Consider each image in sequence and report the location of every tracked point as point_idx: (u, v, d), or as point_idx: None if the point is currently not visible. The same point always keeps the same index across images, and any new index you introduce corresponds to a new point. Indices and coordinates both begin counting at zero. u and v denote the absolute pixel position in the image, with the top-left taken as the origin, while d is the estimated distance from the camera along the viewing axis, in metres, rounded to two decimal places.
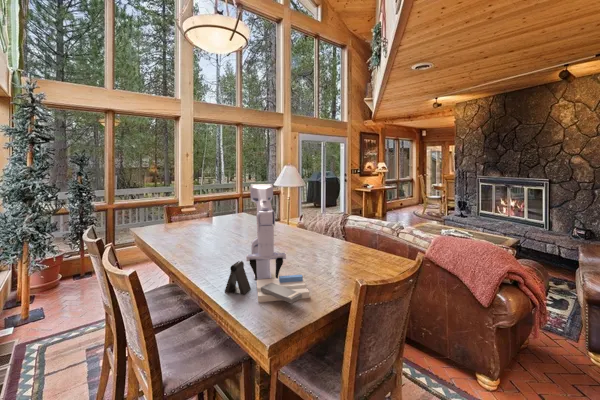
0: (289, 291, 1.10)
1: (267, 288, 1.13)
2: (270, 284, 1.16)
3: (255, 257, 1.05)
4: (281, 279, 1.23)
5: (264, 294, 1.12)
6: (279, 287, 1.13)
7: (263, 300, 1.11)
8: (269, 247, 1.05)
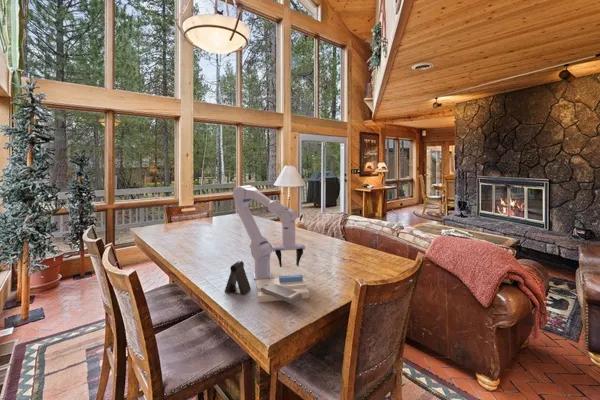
0: (289, 291, 1.10)
1: (267, 288, 1.13)
2: (270, 284, 1.16)
3: (280, 248, 1.26)
4: (281, 279, 1.23)
5: (264, 294, 1.12)
6: (279, 287, 1.13)
7: (263, 300, 1.11)
8: (292, 239, 1.26)
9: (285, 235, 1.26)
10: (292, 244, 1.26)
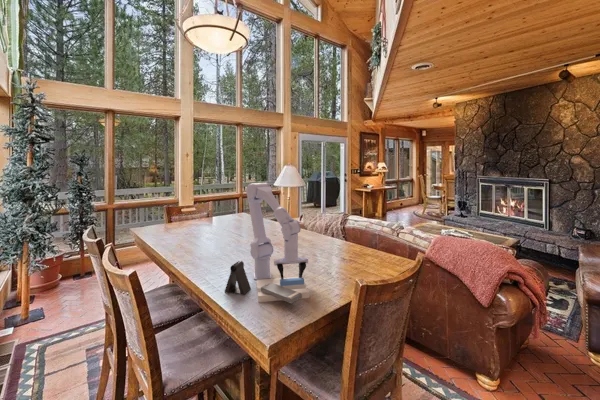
0: (289, 291, 1.10)
1: (267, 288, 1.13)
2: (270, 284, 1.16)
3: (282, 262, 1.21)
4: (282, 282, 1.20)
5: (264, 294, 1.12)
6: (279, 287, 1.13)
7: (263, 300, 1.11)
8: (294, 253, 1.20)
9: (286, 248, 1.20)
10: (295, 258, 1.20)
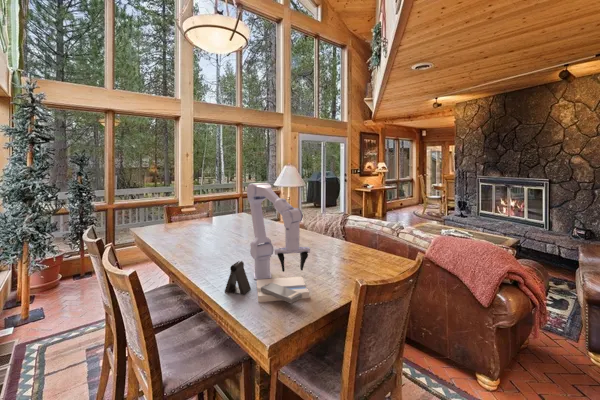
0: (289, 291, 1.10)
1: (267, 288, 1.13)
2: (270, 284, 1.16)
3: (283, 251, 1.16)
4: None
5: (264, 294, 1.12)
6: (279, 287, 1.13)
7: (263, 300, 1.11)
8: (296, 242, 1.16)
9: (286, 236, 1.16)
10: (296, 247, 1.16)
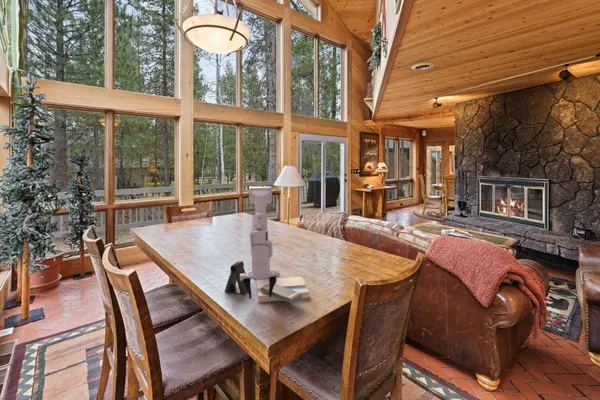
0: (289, 291, 1.10)
1: (267, 288, 1.13)
2: None
3: (249, 276, 1.05)
4: None
5: (264, 294, 1.12)
6: (279, 287, 1.13)
7: (263, 300, 1.11)
8: (263, 266, 1.04)
9: None
10: (263, 272, 1.05)
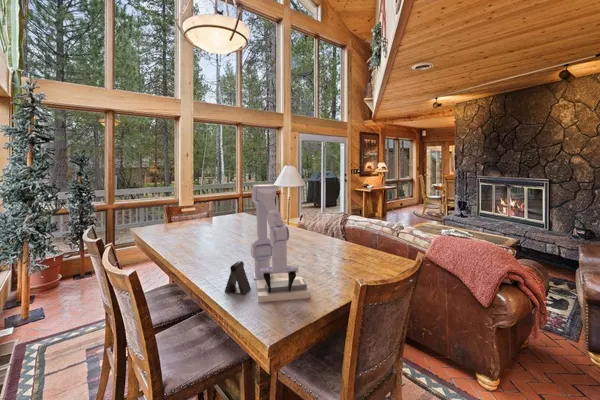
0: (293, 281, 1.20)
1: (273, 286, 1.15)
2: None
3: (269, 271, 1.10)
4: None
5: (264, 294, 1.12)
6: (280, 282, 1.18)
7: (263, 300, 1.11)
8: (283, 261, 1.09)
9: (272, 255, 1.10)
10: (283, 266, 1.10)
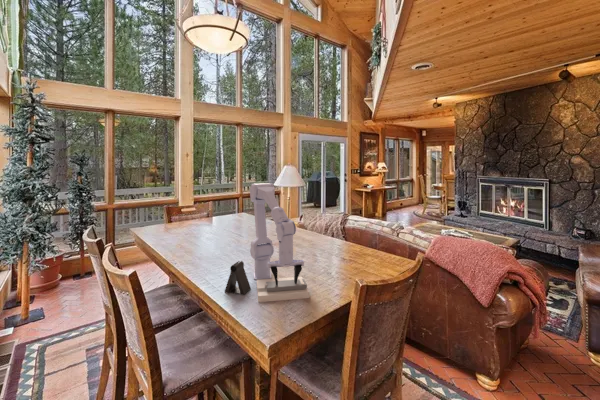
0: (293, 281, 1.20)
1: (273, 286, 1.15)
2: (268, 283, 1.17)
3: (276, 264, 1.14)
4: None
5: (264, 294, 1.12)
6: (280, 282, 1.18)
7: (263, 300, 1.11)
8: (289, 255, 1.14)
9: (279, 249, 1.14)
10: (289, 260, 1.14)
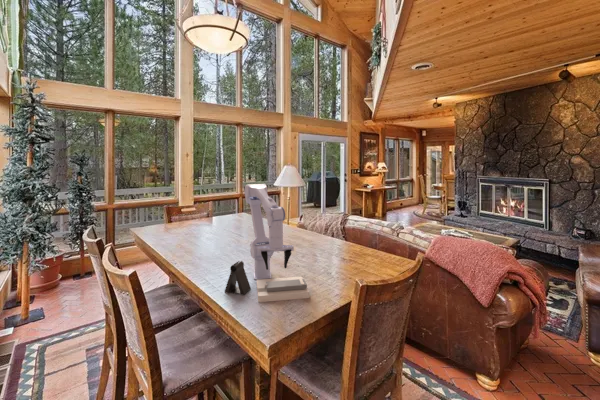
0: (293, 281, 1.20)
1: (273, 286, 1.15)
2: (268, 283, 1.17)
3: (266, 249, 1.17)
4: None
5: (264, 294, 1.12)
6: (280, 282, 1.18)
7: (263, 300, 1.11)
8: (279, 240, 1.17)
9: (269, 234, 1.18)
10: (279, 245, 1.17)
